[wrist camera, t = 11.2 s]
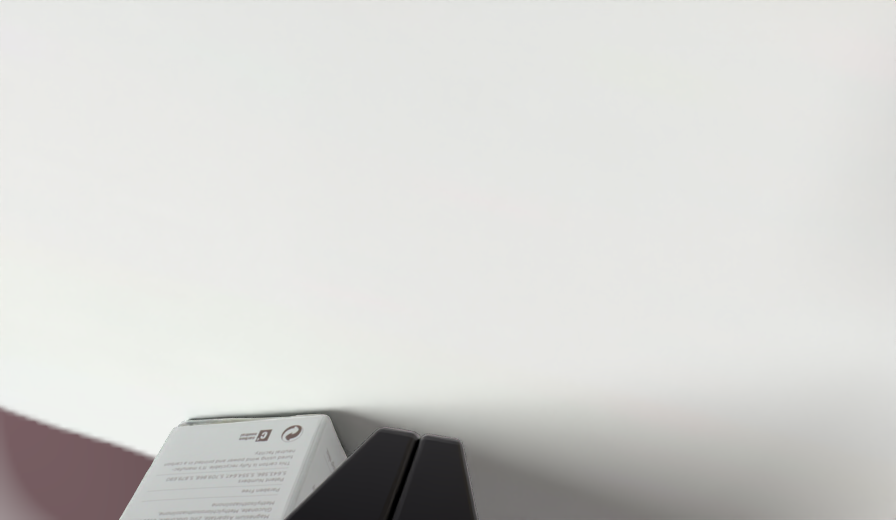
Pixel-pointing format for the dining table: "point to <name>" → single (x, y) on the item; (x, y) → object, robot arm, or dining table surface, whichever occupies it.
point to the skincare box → (237, 469)
